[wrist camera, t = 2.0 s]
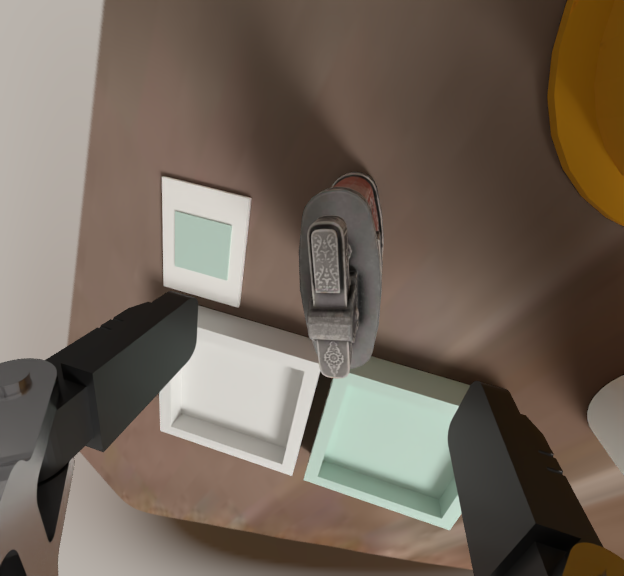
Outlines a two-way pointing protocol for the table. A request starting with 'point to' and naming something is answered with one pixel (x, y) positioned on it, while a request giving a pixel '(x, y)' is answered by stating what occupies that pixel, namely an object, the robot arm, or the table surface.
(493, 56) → the table surface
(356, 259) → the lighter
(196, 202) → the card
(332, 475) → the green tray
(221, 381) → the white tray
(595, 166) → the spool
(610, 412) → the cylindrical container
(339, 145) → the table surface
